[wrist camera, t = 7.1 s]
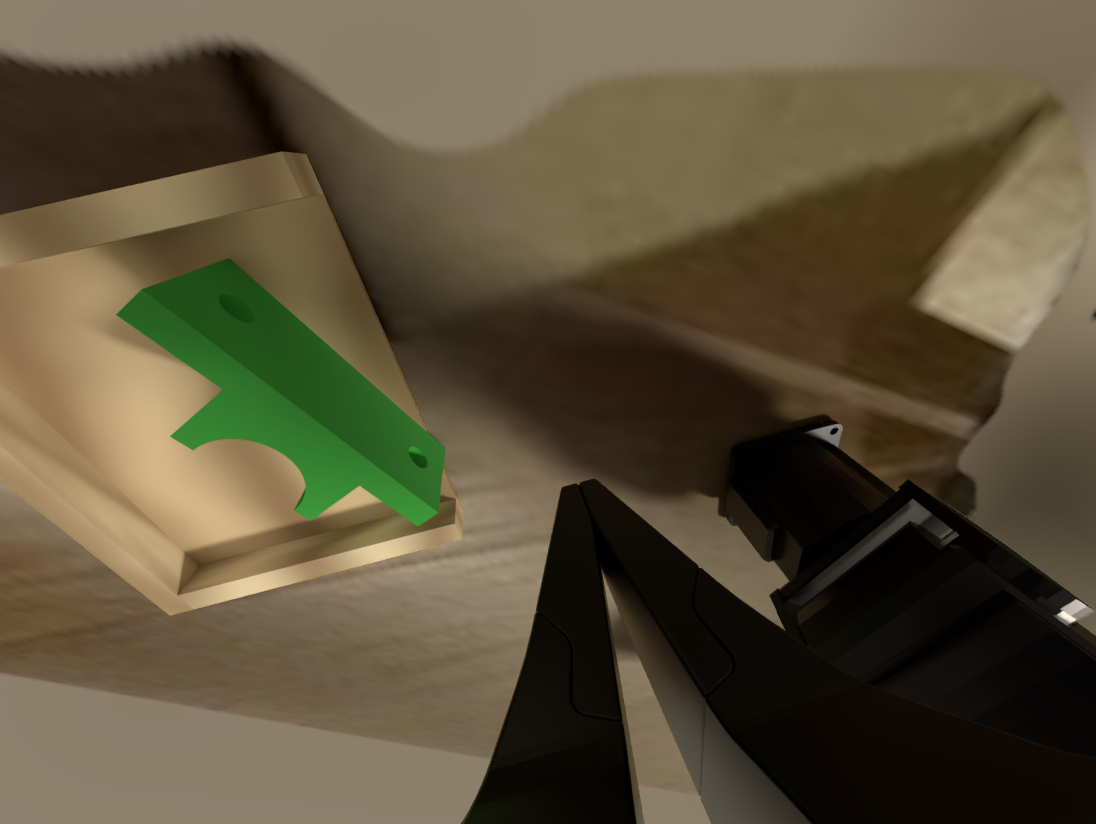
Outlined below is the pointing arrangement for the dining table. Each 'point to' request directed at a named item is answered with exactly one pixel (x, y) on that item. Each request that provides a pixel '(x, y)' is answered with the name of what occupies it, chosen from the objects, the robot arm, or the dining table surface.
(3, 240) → the corral
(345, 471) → the pipe clamp
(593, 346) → the dining table surface
